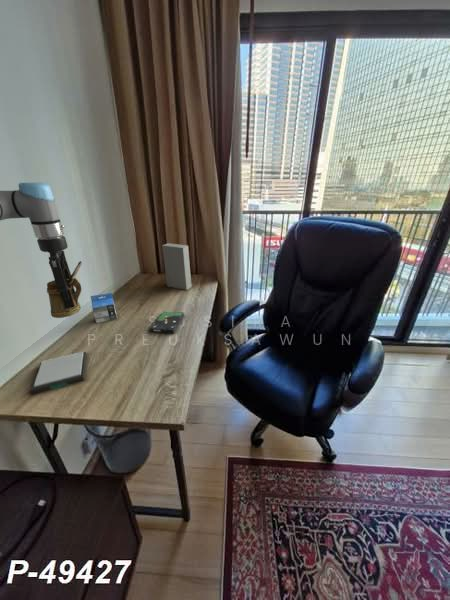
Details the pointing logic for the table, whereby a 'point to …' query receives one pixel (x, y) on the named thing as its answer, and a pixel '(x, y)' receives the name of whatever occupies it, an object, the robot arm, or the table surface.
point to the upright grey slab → (177, 266)
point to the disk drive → (167, 322)
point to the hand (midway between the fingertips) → (71, 302)
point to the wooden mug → (56, 298)
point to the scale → (60, 372)
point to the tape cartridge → (103, 308)
